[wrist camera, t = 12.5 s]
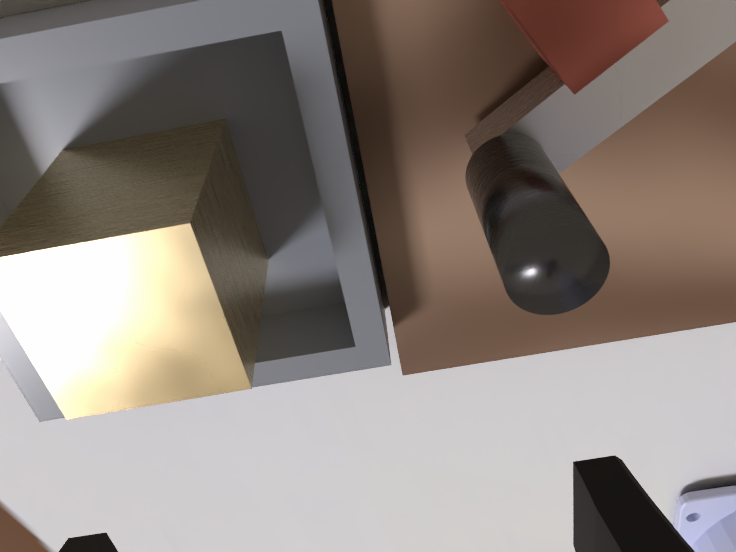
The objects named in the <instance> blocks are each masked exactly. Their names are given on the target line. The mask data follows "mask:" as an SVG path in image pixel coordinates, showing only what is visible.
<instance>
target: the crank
mask: <svg viewBox="0 0 736 552" xmlns="http://www.w3.org/2000/svg"><path fill="white" fill-rule="evenodd" d="M656 1H657V2H658V4H659V6H660V7H661V9H662V10H663V12H664V14H665V15H666V17H667V19H668V20H669V22H667V23H666V24H665V25H663V26H662V27H661V28H660V29H658V30H657V31H656V32H655V33H653V34H652V35H651V36H649V37H648V38H647V39H646V40H644V41H643V42H642V43H640V44H639V45H638V46H637V47H635V48H634V49H633V50H631V51H630V52H629V53H628V54H626V55H625V56H624V57H622V58H621V59H620V60H619V61H617V62H616V63H615V64H614V65H612V66H611V67H610V68H608V69H607V70H606V71H605V72H603V73H602V74H601V75H599V76H598V77H597V78H596V79H594V80H593V81H592V82H590V83H589V84H588V85H587V86H585V87H584V88H583V89H581V90H580V91H579V92H578V93H576V94H575V95H574V94H573V93H572V91H571V90H570V89H569V88H568V87H567V86H566V85H565V84H564V82H563V81H562V80H561V79H560V78H559V77H558V76H557V75H556V73H555V72H554V71H553V70H552V69H551V68H550V67H549V66H548V67H547V68H546V69H545V70H543V71H542V72H541V73H540V74H539V75H537V76H536V77H535V78H534V79H532V80H531V81H530V82H529V83H528V84H526V85H525V86H524V87H523V88H521V89H520V90H519V91H518V92H517V93H515V94H514V95H513V96H512V97H510V98H509V99H508V100H507V101H506V102H504V103H503V104H502V105H501V106H499V107H498V108H497V109H496V110H494V111H493V112H492V113H491V114H490V115H488V116H487V117H486V118H485V119H483V120H482V121H481V122H480V123H479V124H477V125H476V126H475V127H474V128H472V129H471V130H470V131H469V132H468V133H466V134H465V135H464V136H465V138H466V141H467V143H468V145H469V148H470V150H471V152H472V156H471V158H470V160H469V162H468V165H467V168H466V174H465V180H466V186H467V189H468V191H469V194H470V197H471V199H472V202H473V205H474V207H475V210H476V213H477V215H478V218H479V221H480V223H481V226H482V229H483V231H484V234H485V237H486V239H487V242H488V245H489V247H490V250H491V253H492V255H493V258H494V261H495V263H496V266H497V269H498V271H499V274H500V277H501V279H502V282H503V285H504V287H505V290H506V292H507V295H508V296H509V298H510V299H511V300H512V302H513V303H514V304H516V305H517V306H518V307H520V308H521V309H523V310H525V311H527V312H530V313H533V314H539V315H555V314H561V313H565V312H568V311H571V310H574V309H576V308H578V307H580V306H581V305H583V304H585V303H586V302H588V301H589V300H590V299H591V298H592V297H594V296H595V295H596V294H597V292H598V291H599V290H600V289H601V287H602V286H603V284H604V283H605V281H606V279H607V276H608V273H609V269H610V256H609V252H608V250H607V248H606V245H605V244H604V242H603V241H602V239H601V238H600V236H599V235H598V233H597V232H596V230H595V228H594V227H593V225H592V224H591V222H590V221H589V219H588V218H587V216H586V215H585V213H584V212H583V210H582V208H581V207H580V205H579V204H578V202H577V201H576V199H575V198H574V196H573V195H572V193H571V191H570V190H569V188H568V187H567V185H566V184H565V182H564V181H563V179H562V178H561V176H560V174H559V173H561V172H562V171H563V170H565V169H566V168H567V167H569V166H570V165H571V164H573V163H574V162H575V161H577V160H578V159H579V158H581V157H582V156H583V155H585V154H586V153H587V152H589V151H590V150H591V149H593V148H594V147H596V146H597V145H598V144H600V143H601V142H602V141H604V140H605V139H606V138H608V137H609V136H610V135H612V134H613V133H614V132H616V131H617V130H618V129H620V128H621V127H622V126H624V125H625V124H626V123H628V122H629V121H630V120H632V119H633V118H634V117H636V116H637V115H638V114H640V113H641V112H642V111H644V110H645V109H646V108H648V107H649V106H650V105H652V104H653V103H654V102H656V101H657V100H658V99H660V98H661V97H662V96H664V95H665V94H666V93H668V92H669V91H670V90H672V89H673V88H674V87H676V86H677V85H678V84H680V83H681V82H682V81H684V80H685V79H686V78H688V77H689V76H690V75H692V74H693V73H694V72H696V71H697V70H698V69H700V68H701V67H702V66H704V65H705V64H707V63H708V62H709V61H711V60H712V59H713V58H715V57H716V56H717V55H719V54H720V53H721V52H723V51H724V50H725V49H727V48H728V47H729V46H731V45H732V44H733V43H735V42H736V0H656Z"/></svg>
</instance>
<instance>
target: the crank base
mask: <svg viewBox="0 0 736 552" xmlns="http://www.w3.org/2000/svg"><path fill="white" fill-rule="evenodd" d="M332 5H333V10H334V15H335V20H336V26H337V31H338V36H339V41H340V47H341V52H342V57H343V63H344V68H345V73H346V78H347V84H348V89H349V94H350V100H351V105H352V110H353V115H354V121H355V126H356V131H357V136H358V142H359V147H360V152H361V158H362V163H363V168H364V173H365V179H366V184H367V189H368V195H369V200H370V205H371V210H372V216H373V221H374V226H375V231H376V237H377V242H378V247H379V253H380V258H381V263H382V268H383V274H384V279H385V284H386V290H387V295H388V300H389V305H390V311H391V316H392V321H393V326H394V332H395V337H396V342H397V348H398V353H399V358H400V363H401V369H402V374H403V375H408V374H414V373H421V372H427V371H433V370H439V369H446V368H452V367H458V366H464V365H471V364H477V363H483V362H489V361H496V360H502V359H508V358H514V357H521V356H527V355H533V354H539V353H545V352H552V351H558V350H564V349H570V348H577V347H583V346H589V345H595V344H602V343H608V342H614V341H620V340H627V339H633V338H639V337H645V336H652V335H658V334H664V333H670V332H676V331H683V330H689V329H695V328H701V327H708V326H714V325H720V324H726V323H733V322H736V42H735V43H733V44H732V45H731V46H729V47H728V48H727V49H725V50H724V51H723V52H721V53H720V54H719V55H717V56H716V57H715V58H713V59H712V60H711V61H709V62H708V63H707V64H705V65H704V66H702V67H701V68H700V69H698V70H697V71H696V72H694V73H693V74H692V75H690V76H689V77H688V78H686V79H685V80H684V81H682V82H681V83H680V84H678V85H677V86H676V87H674V88H673V89H672V90H670V91H669V92H668V93H666V94H665V95H664V96H662V97H661V98H660V99H658V100H657V101H656V102H654V103H653V104H652V105H650V106H649V107H648V108H646V109H645V110H644V111H642V112H641V113H640V114H638V115H637V116H636V117H634V118H633V119H632V120H630V121H629V122H628V123H626V124H625V125H624V126H622V127H621V128H620V129H618V130H617V131H616V132H614V133H613V134H612V135H610V136H609V137H608V138H606V139H605V140H604V141H602V142H601V143H600V144H598V145H597V146H596V147H594V148H593V149H591V150H590V151H589V152H587V153H586V154H585V155H583V156H582V157H581V158H579V159H578V160H577V161H575V162H574V163H573V164H571V165H570V166H569V167H567V168H566V169H565V170H563V171H562V172H561V173H559V174H560V176H561V178H562V179H563V181H564V182H565V184H566V185H567V187H568V188H569V190H570V191H571V193H572V195H573V196H574V198H575V199H576V201H577V202H578V204H579V205H580V207H581V208H582V210H583V212H584V213H585V215H586V216H587V218H588V219H589V221H590V222H591V224H592V225H593V227H594V228H595V230H596V232H597V233H598V235H599V236H600V238H601V239H602V241H603V242H604V244H605V245H606V248H607V250H608V252H609V256H610V269H609V273H608V276H607V279H606V281H605V283H604V284H603V286H602V287H601V289H600V290H599V291H598V292H597V294H596V295H595V296H594V297H592V298H591V299H590V300H589V301H588V302H586V303H585V304H583V305H581V306H580V307H578V308H576V309H574V310H571V311H568V312H565V313H561V314H555V315H539V314H533V313H530V312H527V311H525V310H523V309H521V308H520V307H518V306H517V305H516V304H514V303H513V302H512V300H511V299H510V298H509V296H508V295H507V292H506V290H505V287H504V285H503V282H502V279H501V277H500V274H499V271H498V269H497V266H496V263H495V261H494V258H493V255H492V253H491V250H490V247H489V245H488V242H487V239H486V237H485V234H484V231H483V229H482V226H481V223H480V221H479V218H478V215H477V213H476V210H475V207H474V205H473V202H472V199H471V197H470V194H469V191H468V189H467V186H466V180H465V174H466V168H467V165H468V162H469V160H470V158H471V156H472V152H471V150H470V148H469V145H468V143H467V141H466V138H465V136H464V135H465V134H466V133H468V132H469V131H470V130H471V129H472V128H474V127H475V126H476V125H477V124H479V123H480V122H481V121H482V120H483V119H485V118H486V117H487V116H488V115H490V114H491V113H492V112H493V111H494V110H496V109H497V108H498V107H499V106H501V105H502V104H503V103H504V102H506V101H507V100H508V99H509V98H510V97H512V96H513V95H514V94H515V93H517V92H518V91H519V90H520V89H521V88H523V87H524V86H525V85H526V84H528V83H529V82H530V81H531V80H532V79H534V78H535V77H536V76H537V75H539V74H540V73H541V72H542V71H543V70H545V69H546V68H547V67H548V66H549V67H550V68H551V69H552V70H553V71H554V72H555V73H556V75H557V76H558V77H559V78H560V79H561V80H562V81H563V82H564V84H565V85H566V86H567V87H568V88H569V89H570V90H571V91H572V93H573V94H574V95H575V94H576V93H578V92H579V91H580V90H581V89H583V88H584V87H585V86H587V85H588V84H589V83H590V82H592V81H593V80H594V79H596V78H597V77H598V76H599V75H601V74H602V73H603V72H605V71H606V70H607V69H608V68H610V67H611V66H612V65H614V64H615V63H616V62H617V61H619V60H620V59H621V58H622V57H624V56H625V55H626V54H628V53H629V52H630V51H631V50H633V49H634V48H635V47H637V46H638V45H639V44H640V43H642V42H643V41H644V40H646V39H647V38H648V37H649V36H651V35H652V34H653V33H655V32H656V31H657V30H658V29H660V28H661V27H662V26H663V25H665V24H666V23H667V22H669V20H668V19H667V17H666V15H665V14H664V12H663V10H662V9H661V7H660V6H659V4H658V2H657V1H656V0H332Z"/></svg>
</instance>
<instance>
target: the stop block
mask: <svg viewBox="0 0 736 552" xmlns="http://www.w3.org/2000/svg"><path fill="white" fill-rule="evenodd" d="M268 262H269V258H268V255H267V252H266V249H265V245H264V242H263V239H262V236H261V232H260V229H259V226H258V223H257V219H256V216H255V213H254V210H253V206H252V203H251V200H250V197H249V193H248V190H247V187H246V184H245V180H244V177H243V174H242V171H241V167H240V164H239V161H238V158H237V154H236V151H235V148H234V145H233V141H232V138H231V135H230V132H229V128H228V125H227V122H226V119H221V120H216V121H210V122H205V123H200V124H195V125H189V126H184V127H179V128H174V129H168V130H163V131H158V132H153V133H147V134H142V135H137V136H132V137H126V138H121V139H116V140H110V141H105V142H100V143H95V144H89V145H84V146H79V147H74V148H68V149H63V150H62V151H61V152H60V153H59V155H58V156H57V157H56V158H55V160H54V161H53V162H52V163H51V165H50V166H49V167H48V168H47V170H46V171H45V172H44V173H43V175H42V176H41V177H40V178H39V180H38V181H37V182H36V184H35V185H34V186H33V187H32V189H31V190H30V191H29V192H28V194H27V195H26V196H25V197H24V199H23V200H22V201H21V202H20V204H19V205H18V206H17V207H16V209H15V210H14V211H13V212H12V214H11V215H10V216H9V217H8V219H7V220H6V221H5V222H4V224H3V225H2V226H1V227H0V310H1V311H2V313H3V315H4V316H5V318H6V320H7V321H8V323H9V325H10V326H11V328H12V330H13V331H14V333H15V335H16V336H17V338H18V340H19V341H20V343H21V345H22V346H23V348H24V350H25V351H26V353H27V355H28V356H29V358H30V360H31V361H32V363H33V365H34V366H35V368H36V370H37V371H38V373H39V375H40V376H41V378H42V380H43V381H44V383H45V385H46V386H47V388H48V390H49V391H50V393H51V395H52V396H53V398H54V400H55V401H56V403H57V405H58V406H59V408H60V410H61V411H62V413H63V415H64V416H65V418H66V420H67V419H73V418H79V417H85V416H91V415H97V414H103V413H109V412H115V411H121V410H127V409H133V408H139V407H145V406H151V405H157V404H163V403H169V402H175V401H181V400H187V399H193V398H199V397H205V396H211V395H217V394H223V393H229V392H235V391H241V390H247V389H252V382H253V375H254V367H255V360H256V352H257V344H258V337H259V329H260V322H261V314H262V307H263V299H264V292H265V284H266V277H267V269H268Z"/></svg>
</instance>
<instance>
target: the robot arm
mask: <svg viewBox="0 0 736 552" xmlns="http://www.w3.org/2000/svg"><path fill="white" fill-rule="evenodd" d="M573 497H574V548H575V551H576V552H736V485H733V486H727V487H720V488H713V489H706V490H700V491H693V492H688V493H685V494H684V495H682V496H681V497H680V498H679V499H678V501H677V505H676V513H675V520H674V526H673V525H672V524H671V523H670V522H669V520H668V519H667V518H666V517H665V516H664V514H663V513H662V512H661V511H660V509H659V508H658V507H657V506H656V504H655V503H654V502H653V501H652V500H651V498H650V497H649V496H648V494H647V493H646V492H645V491H644V489H643V488H642V487H641V485H640V484H639V483H638V481H637V480H636V479H635V477H634V476H633V475H632V473H631V472H630V471H629V469H628V468H627V467H626V465H625V464H624V462H623V461H622V460H621V459H619V458H618V457H616V456H609V457H602V458H596V459H589V460H583V461H576V462H573ZM59 552H118V551H117V549H116V548H115V546H114V544H113V543H112V541H111V540H110V538H109V536H108V535H107V533H101V534H94V535H87V536H81V537H74V538H68V540H67V541H66V542H65V544H64V545H63V547H62V548H61V549H60V551H59Z"/></svg>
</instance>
